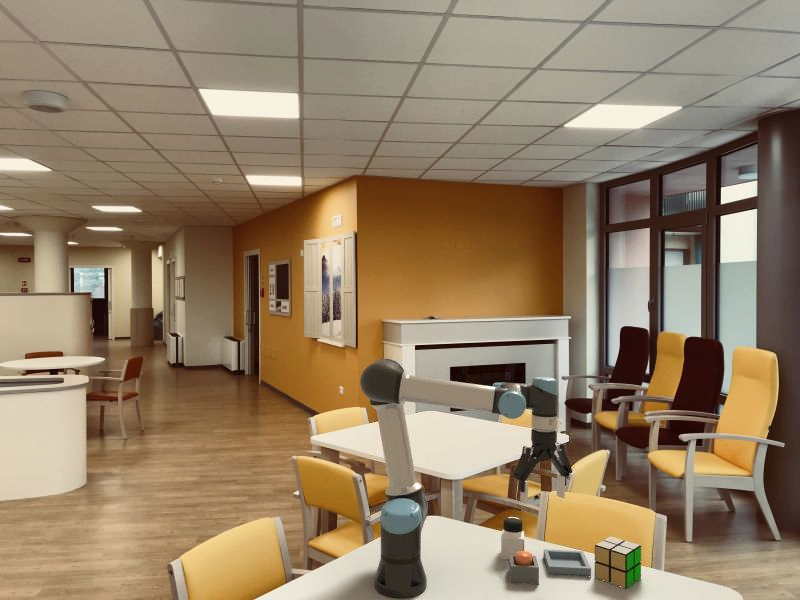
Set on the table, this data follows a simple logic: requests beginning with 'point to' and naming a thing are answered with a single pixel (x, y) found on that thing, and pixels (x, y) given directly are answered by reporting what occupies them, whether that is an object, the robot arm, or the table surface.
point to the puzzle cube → (618, 561)
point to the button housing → (524, 572)
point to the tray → (567, 563)
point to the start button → (523, 558)
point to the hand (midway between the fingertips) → (542, 499)
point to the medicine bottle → (511, 537)
